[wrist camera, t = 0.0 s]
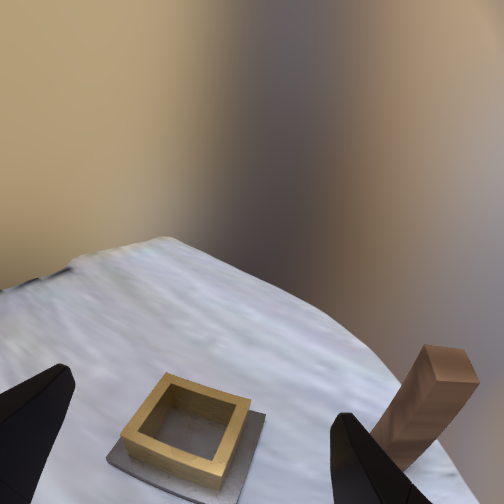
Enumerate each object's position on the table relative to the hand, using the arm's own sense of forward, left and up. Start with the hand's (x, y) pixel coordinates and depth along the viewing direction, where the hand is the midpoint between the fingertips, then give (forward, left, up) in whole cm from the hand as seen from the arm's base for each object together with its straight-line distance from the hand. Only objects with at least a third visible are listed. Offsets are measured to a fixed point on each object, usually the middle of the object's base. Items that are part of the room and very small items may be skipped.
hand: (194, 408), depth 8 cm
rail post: (+7, -16, -17) cm, 24 cm away
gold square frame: (+8, +2, -16) cm, 18 cm away
